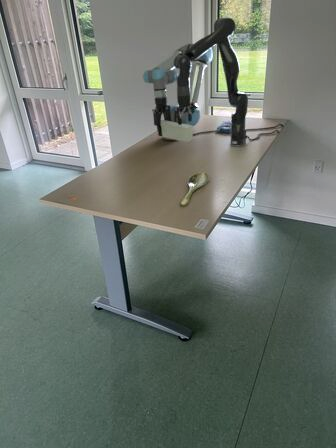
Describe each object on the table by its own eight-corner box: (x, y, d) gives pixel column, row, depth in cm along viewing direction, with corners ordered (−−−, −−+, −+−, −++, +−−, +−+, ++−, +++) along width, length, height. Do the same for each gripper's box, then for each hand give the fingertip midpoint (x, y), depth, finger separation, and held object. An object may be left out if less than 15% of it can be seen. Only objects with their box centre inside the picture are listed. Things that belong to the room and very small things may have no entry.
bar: (157, 135, 217) (156, 121, 213) (163, 133, 220) (162, 119, 216) (186, 142, 200) (186, 127, 196) (192, 140, 203) (192, 125, 199)
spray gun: (242, 125, 260) (223, 125, 266) (242, 120, 258) (223, 120, 264) (234, 134, 245) (215, 133, 251) (234, 128, 242) (214, 128, 249)
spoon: (193, 209, 156) (193, 205, 155) (172, 207, 159) (171, 203, 158) (212, 175, 182) (212, 172, 181) (193, 174, 186) (193, 170, 184)
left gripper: (153, 100, 197) (157, 139, 209) (175, 94, 207) (177, 131, 219) (145, 99, 202) (149, 137, 214) (167, 93, 212) (170, 130, 224)
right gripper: (179, 97, 183) (181, 126, 192) (197, 92, 192) (197, 121, 200) (170, 96, 188) (172, 124, 197) (187, 91, 196) (188, 119, 205)
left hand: (163, 134), depth 216 cm, fingers closed on bar, 5 cm apart
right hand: (185, 122), depth 198 cm, fingers open, 8 cm apart
